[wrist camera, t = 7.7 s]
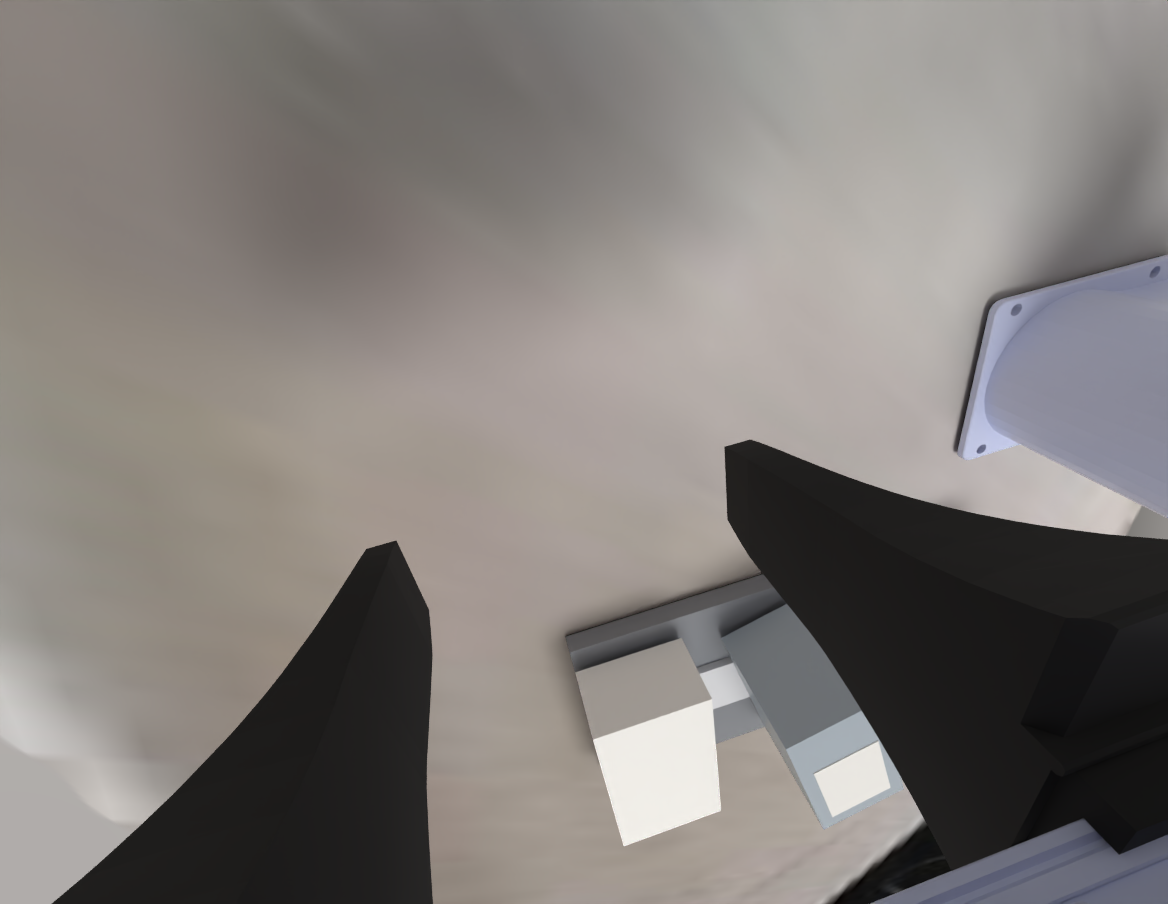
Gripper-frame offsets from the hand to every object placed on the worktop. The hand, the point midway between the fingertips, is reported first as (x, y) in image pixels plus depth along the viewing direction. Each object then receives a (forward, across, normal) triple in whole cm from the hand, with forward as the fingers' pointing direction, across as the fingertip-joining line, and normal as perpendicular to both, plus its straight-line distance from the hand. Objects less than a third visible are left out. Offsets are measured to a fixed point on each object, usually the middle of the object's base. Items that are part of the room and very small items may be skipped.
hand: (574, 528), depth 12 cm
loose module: (+8, -10, +20) cm, 23 cm away
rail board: (+9, -10, +20) cm, 24 cm away
